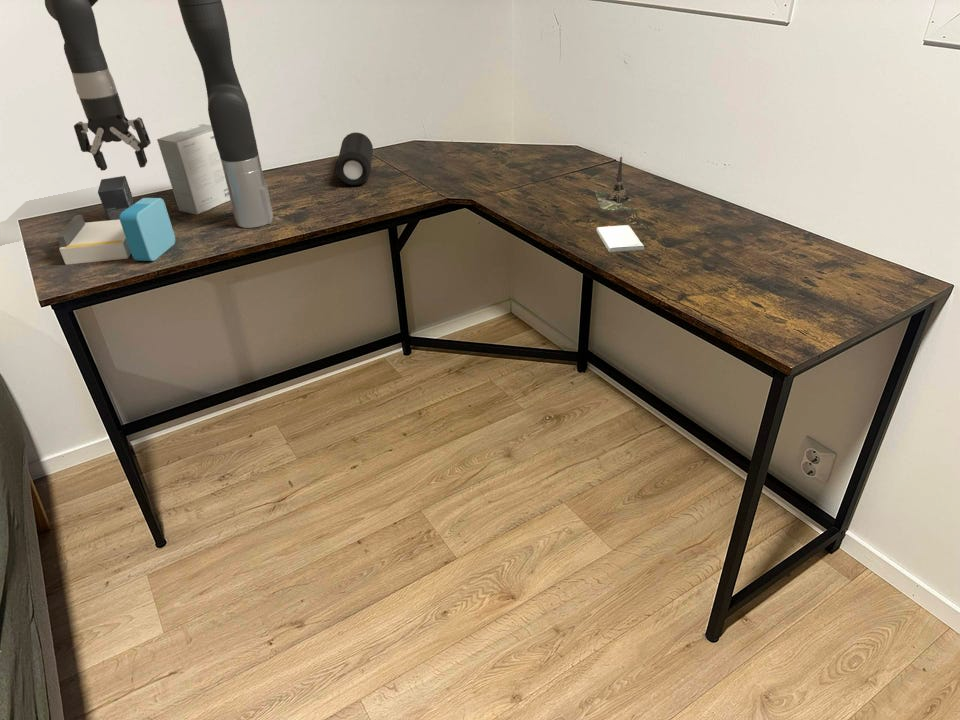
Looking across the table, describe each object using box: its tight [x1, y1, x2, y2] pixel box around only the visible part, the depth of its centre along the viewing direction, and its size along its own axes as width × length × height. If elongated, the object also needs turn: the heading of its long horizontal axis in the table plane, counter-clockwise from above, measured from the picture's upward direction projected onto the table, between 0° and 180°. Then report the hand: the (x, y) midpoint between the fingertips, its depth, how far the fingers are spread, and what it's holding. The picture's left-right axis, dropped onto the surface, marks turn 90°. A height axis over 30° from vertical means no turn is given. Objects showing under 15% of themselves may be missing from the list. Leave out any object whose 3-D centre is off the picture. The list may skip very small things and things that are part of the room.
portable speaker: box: [335, 131, 374, 186], centre depth 204 cm, size 26×10×10 cm, turn 6°
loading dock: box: [56, 214, 132, 265], centre depth 164 cm, size 14×16×6 cm
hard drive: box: [596, 224, 645, 253], centre depth 160 cm, size 2×8×12 cm
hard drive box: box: [156, 123, 231, 216], centre depth 183 cm, size 16×8×20 cm, turn 150°
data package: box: [120, 197, 176, 262], centre depth 159 cm, size 12×4×12 cm, turn 173°
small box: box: [97, 175, 136, 221], centre depth 177 cm, size 11×6×10 cm, turn 21°
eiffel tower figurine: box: [593, 152, 639, 211], centre depth 178 cm, size 15×10×13 cm
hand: (123, 168), depth 152 cm, fingers open, 8 cm apart
